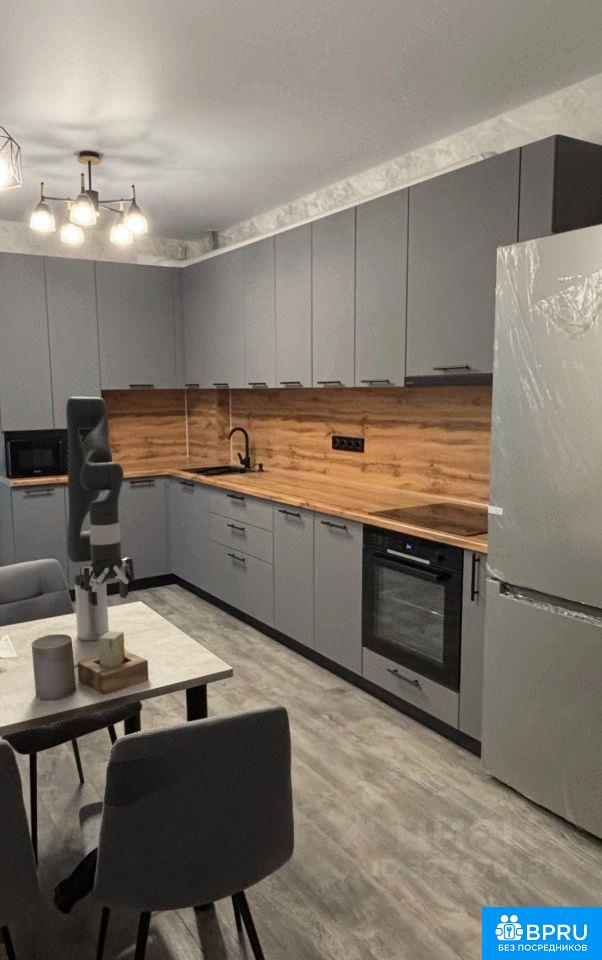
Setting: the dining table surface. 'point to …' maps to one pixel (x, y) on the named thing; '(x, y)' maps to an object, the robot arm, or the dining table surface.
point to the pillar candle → (53, 666)
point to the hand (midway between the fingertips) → (108, 601)
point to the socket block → (112, 673)
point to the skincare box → (111, 649)
